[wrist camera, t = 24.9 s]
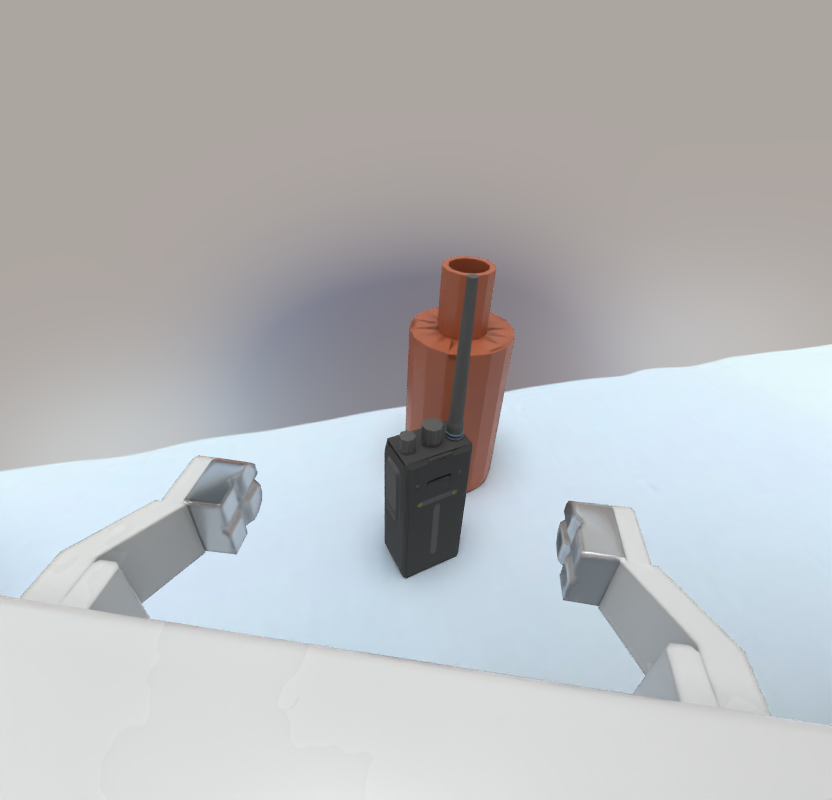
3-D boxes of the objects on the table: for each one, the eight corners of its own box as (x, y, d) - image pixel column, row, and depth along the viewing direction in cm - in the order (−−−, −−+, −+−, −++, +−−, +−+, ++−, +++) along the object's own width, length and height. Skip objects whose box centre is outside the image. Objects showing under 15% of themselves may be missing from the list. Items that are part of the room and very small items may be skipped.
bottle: (489, 441, 43) (523, 251, 32) (488, 500, 37) (529, 293, 27) (411, 431, 43) (420, 242, 33) (398, 488, 38) (404, 281, 27)
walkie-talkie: (437, 519, 35) (465, 259, 23) (460, 553, 33) (505, 284, 21) (379, 542, 33) (377, 272, 21) (400, 580, 31) (410, 301, 19)
